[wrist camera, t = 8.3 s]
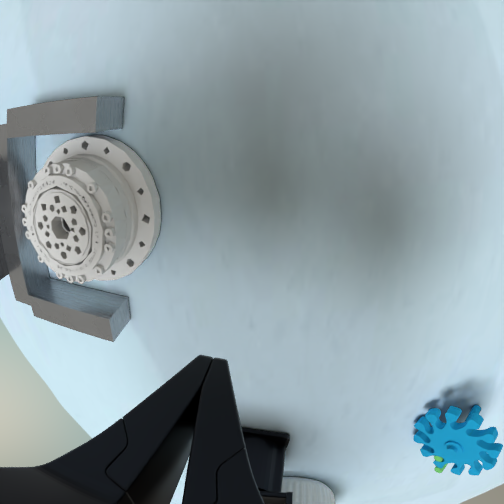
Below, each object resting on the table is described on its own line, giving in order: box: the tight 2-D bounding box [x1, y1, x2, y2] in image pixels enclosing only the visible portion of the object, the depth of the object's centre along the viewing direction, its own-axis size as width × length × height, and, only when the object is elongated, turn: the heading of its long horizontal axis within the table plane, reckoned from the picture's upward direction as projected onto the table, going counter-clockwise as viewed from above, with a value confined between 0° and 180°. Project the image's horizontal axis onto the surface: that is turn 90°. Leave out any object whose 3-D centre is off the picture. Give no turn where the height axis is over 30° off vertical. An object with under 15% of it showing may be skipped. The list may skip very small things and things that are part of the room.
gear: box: [414, 405, 503, 475], centre depth 22 cm, size 11×6×10 cm
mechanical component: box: [22, 135, 161, 284], centre depth 18 cm, size 10×4×10 cm
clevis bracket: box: [0, 96, 131, 342], centre depth 18 cm, size 14×16×6 cm
